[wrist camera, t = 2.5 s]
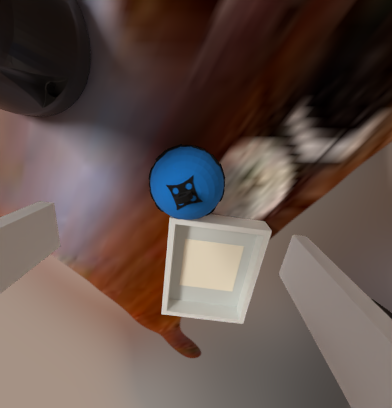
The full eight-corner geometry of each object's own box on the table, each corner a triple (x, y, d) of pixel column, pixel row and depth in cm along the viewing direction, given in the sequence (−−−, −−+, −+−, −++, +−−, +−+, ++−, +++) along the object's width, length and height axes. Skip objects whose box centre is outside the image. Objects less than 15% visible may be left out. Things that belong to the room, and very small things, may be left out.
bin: (164, 298, 33) (161, 314, 31) (173, 209, 27) (169, 217, 24) (239, 308, 34) (242, 323, 31) (264, 221, 27) (271, 231, 25)
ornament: (209, 132, 23) (214, 132, 14) (228, 194, 26) (243, 228, 17) (147, 156, 25) (114, 170, 15) (172, 212, 27) (157, 253, 18)
